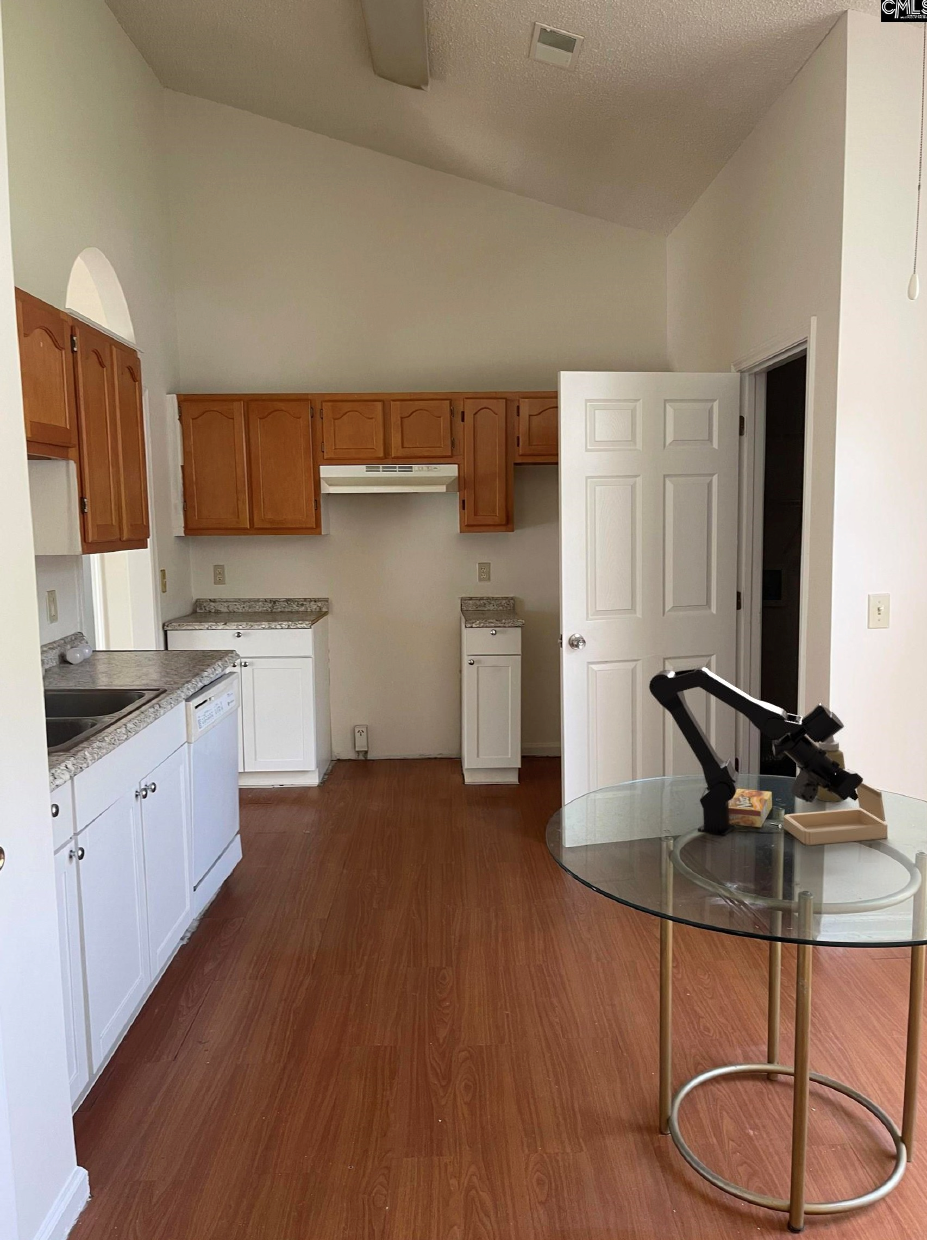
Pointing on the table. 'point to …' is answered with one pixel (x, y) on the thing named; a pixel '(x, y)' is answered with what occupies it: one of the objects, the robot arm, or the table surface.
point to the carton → (834, 826)
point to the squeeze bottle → (836, 755)
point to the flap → (871, 800)
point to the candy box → (749, 807)
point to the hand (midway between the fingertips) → (856, 798)
